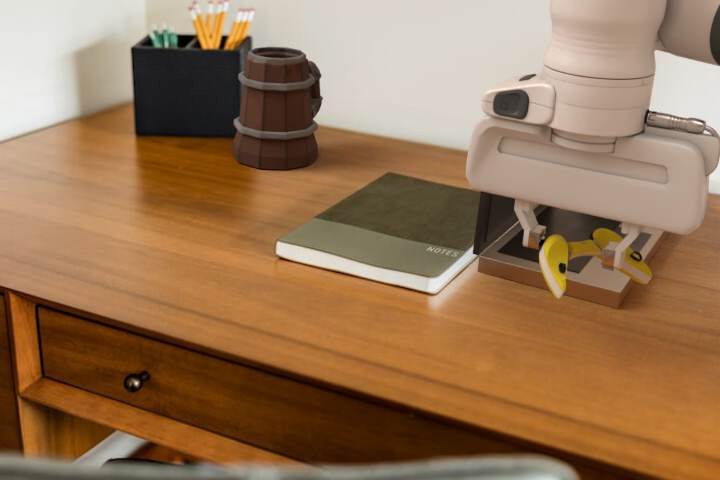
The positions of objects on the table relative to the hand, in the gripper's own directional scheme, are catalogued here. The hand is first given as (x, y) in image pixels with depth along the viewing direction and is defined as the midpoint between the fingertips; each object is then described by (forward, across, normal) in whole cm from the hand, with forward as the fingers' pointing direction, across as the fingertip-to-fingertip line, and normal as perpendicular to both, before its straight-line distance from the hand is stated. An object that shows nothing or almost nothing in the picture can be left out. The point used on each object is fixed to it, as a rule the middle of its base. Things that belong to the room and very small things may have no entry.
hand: (571, 255), depth 79 cm
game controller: (+3, -1, -1) cm, 3 cm away
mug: (+9, +51, -31) cm, 60 cm away
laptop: (+9, +5, -23) cm, 25 cm away
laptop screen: (0, +12, -23) cm, 26 cm away
